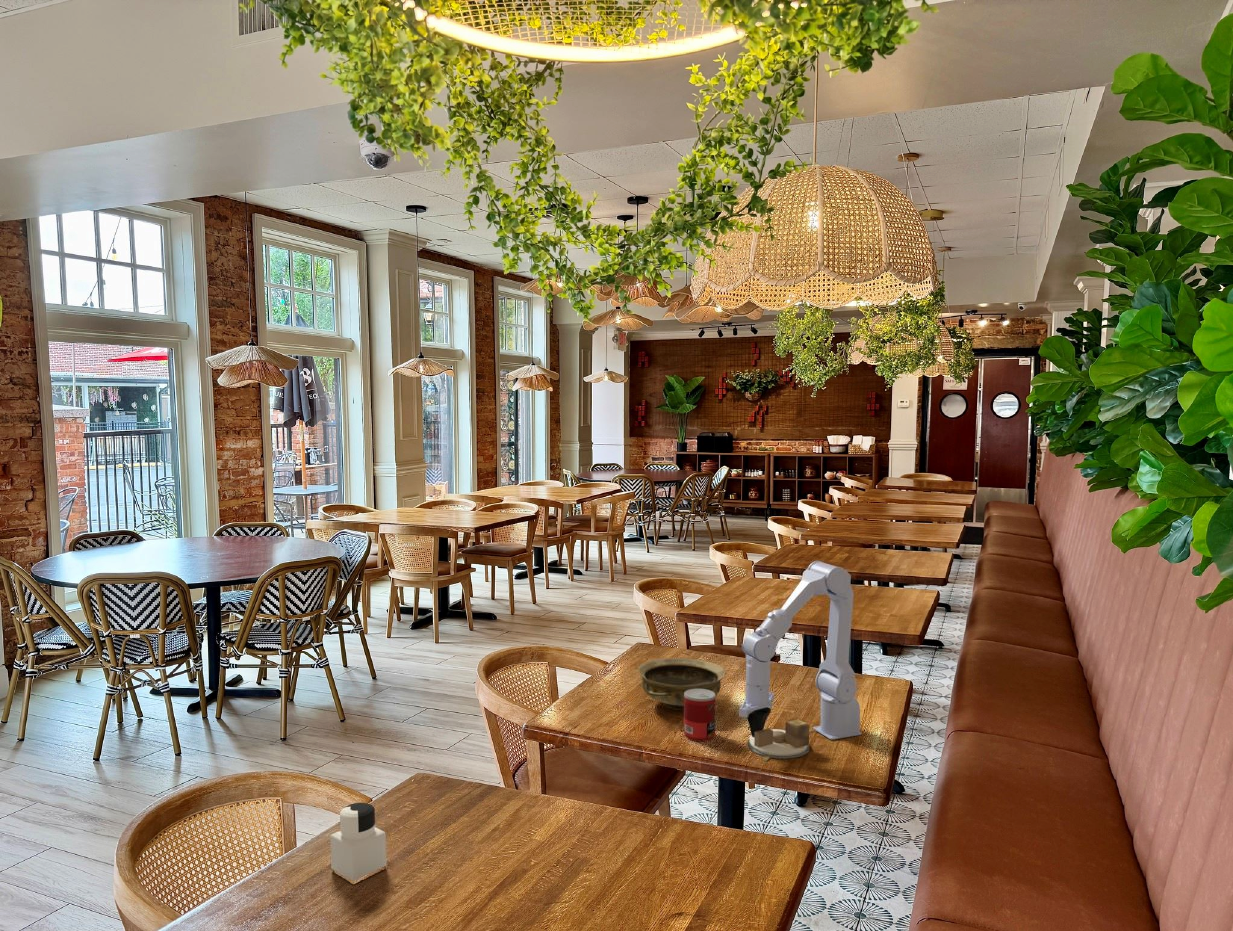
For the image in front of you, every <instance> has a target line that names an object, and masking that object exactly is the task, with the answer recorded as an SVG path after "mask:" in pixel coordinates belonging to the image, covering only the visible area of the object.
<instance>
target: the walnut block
mask: <svg viewBox="0 0 1233 931" xmlns="http://www.w3.org/2000/svg"><path fill="white" fill-rule="evenodd" d="M784 730H785V743H787V744H790V745H792V746H794V747H796V748H799V747H802V746H805V745H809V746H810V724H809V723H808V722H805V721H803V720H800V719H799V718H796V719H793V720H789V721H786V722H785V729H784Z"/></svg>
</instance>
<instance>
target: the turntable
mask: <svg viewBox="0 0 1233 931" xmlns="http://www.w3.org/2000/svg"><path fill="white" fill-rule="evenodd" d="M749 739H750V742H749V744H750V746H751V747H752V748H753V749H754V750H756V751H758V752H760V753H763V754H767V755H772V756H795V755H799V754H801V753H803V752H805V751H806V750H807V745H805V746H802V747H799V748H796V747H794V746H792V745H790V744H787V743H785V729H777V728H776V729H775V728H773V729H772V728H768V727H767V728H764V729H763V730H760V731H757V732H755V734H754V737H752V735H749Z"/></svg>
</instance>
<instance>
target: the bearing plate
mask: <svg viewBox="0 0 1233 931" xmlns="http://www.w3.org/2000/svg"><path fill="white" fill-rule="evenodd" d="M749 742H750V738H749V739H748V740H747V744H746V745H747V748H748V749H749V750H750V751H751V752H753V753H754V754H757V755H759V756H762V757H765V756H767V757H770V759H774V760H775V759H777V760H790V759H797V758H801V757H803V756H806V755H807V754H808V753H809V752H810V744H809V745H807V750H806V751H805V752H803V753H801V754H799V755H795V756H772V755H767V754H763V753H760V752H758V751H756V750H754V749H753V748H752V747H751V746H750V744H749Z"/></svg>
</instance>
